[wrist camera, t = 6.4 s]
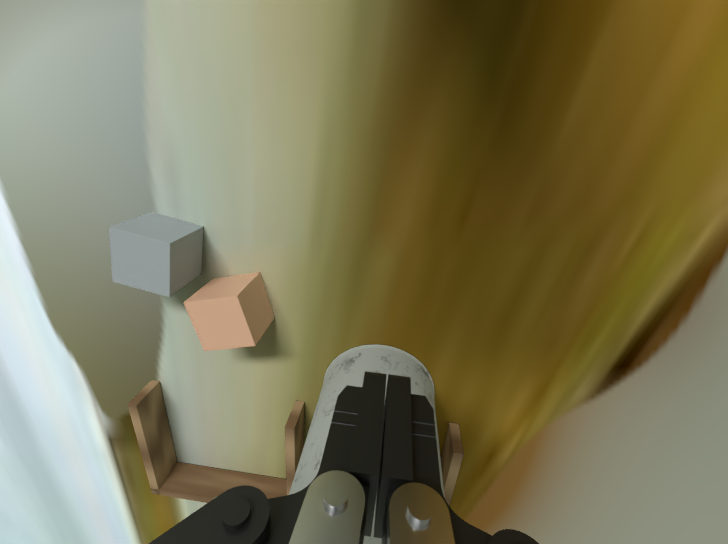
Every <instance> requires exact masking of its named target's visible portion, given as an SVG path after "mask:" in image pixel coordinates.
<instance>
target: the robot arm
mask: <svg viewBox="0 0 728 544" xmlns="http://www.w3.org/2000/svg"><path fill="white" fill-rule="evenodd" d="M386 375H387V374H383V373H375V372H368V371H365V374H364V380H363V386H362V387H356V386H349V385H347V386H346V387H345V388H344V389H343V390H342V392H341V393H340V394H339V395H338V397H337V401H336V405H335V409H334V413H333V417H332V421H331V425H330V429H329V433H328V437H327V441H326V444H325V448H324V452H323V456H322V460H321V464H320V468H319V471H318V473H317V475H316V477H315V478H314V480H313V481H312V482H311V483H310V484H309V485H308V486H307V487H305V488H304V489H302V490H301V491H299V492H296V493H294V494H290V495H286V496H280V497H275V498H270V499H267V497H266V495H265V494H264V493H263V492H262V491H261V490H260V489H258V488H256V487H254V486H249V485H242V486H237V487H233V488H231V489H228V490H227V491H225V492H223V493H222V494H220V495H219V496H217V497H216V498H214V499H213V500H211V501H210V502H209V503H207V504H206V505H204V506H203V507H201V508H200V509H198V510H197V511H196V512H194V513H193V514H191V515H190V516H188V517H187V518H185V519H184V520H182V521H181V522H180V523H178V524H177V525H175V526H174V527H172V528H171V529H169V530H168V531H167V532H165V533H164V534H162V535H161V536H159V537H158V538H156V539H155V540H153V541H152V542H151V543H149V544H363V541H364V536H369V537H371V532H372V525H373V517H374V510H375V502H376V511H375V523H374V536H373V537H376V538H382V542H381V544H539V543H538V542H536V541H535V540H534V539H533V538H531V537H530V536H528V535H526V534H524V533H522V532H520V531H516V530H511V529H506V530H501V531H498V532H497V533H495V534H494V535H493V536H491V535H490V534H487V533H486V532H484V531H482V530H480V529H478V528H476V527H474V526H472V525H470V524H468V523H467V522H465V521H464V520H462V519H461V518H460V517H458V516H457V515H456V514H455V513H454V512H453V510H452V509H451V508H450V507H449V505H448V503H447V502H446V500H445V498H444V495H443V492H442V488H441V480H440V470H439V460H438V450H437V440H436V431H435V421H434V411H433V408H432V406H431V404H430V403H429V401H428V399H427V398H426V396H423V395H416V394H411V378H410V377H406V376H398V375H391V374H388V380H387V388H386ZM385 389H386V396H385ZM384 403H385V404H384ZM376 495H377V498H376Z"/></svg>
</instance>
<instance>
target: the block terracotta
mask: <svg viewBox="0 0 728 544" xmlns="http://www.w3.org/2000/svg"><path fill="white" fill-rule="evenodd" d="M183 303H184V305H185V308H186V310H187V312H188V314H189V317H190V319H191V321H192V324H193V326H194V328H195V330H196V333H197V335H198V337H199V340H200V342H201V344H202V346H203V349H204V351H208V350H219V349H229V348H240V347H250V346H256V344H257V343H258V341H259V340H260V338H261V337H262V335H263V334H264V332H265V331H266V329H267V328H268V326H269V325H270V323H271V322H272V320H273V319H274V318H275V316H274V313H273V310H272V307H271V304H270V301H269V298H268V295H267V292H266V289H265V286H264V283H263V280H262V276H261V273H260V272H257V273H250V274H242V275H235V276H228V277H220V278H213V279H212V280H210V281H209V282H208V283H207V284H206V285H204V286H203V287H202V288H201V289H199V290H198V291H197V292H196V293H194V294H193V295H192V296H191V297H189V298H188V299H187V300H186V301H185V302H183Z"/></svg>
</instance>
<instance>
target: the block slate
mask: <svg viewBox="0 0 728 544" xmlns="http://www.w3.org/2000/svg"><path fill="white" fill-rule="evenodd" d="M203 229H204V226H200V225H197V224H193V223H189V222H186V221H182V220H178V219H175V218H171V217H168V216H164V215H160V214H157V213H155V212H150V213H147V214H144V215H141V216H139V217H135V218H132V219H129V220H127V221H124V222H121V223H118V224H115V225H112V226H109V235H110V249H111V264H112V278H113V282H116V283H120V284H123V285H127V286H131V287H134V288H138V289H142V290H145V291H149V292H152V293H156V294H159V295H163V296H167V297H171V296H172V295H173V294H175V293H176V292H177V291H179V290H180V289H182V288H183V287H184V286H186V285H187V284H188V283H190V282H191V281H192V280H194V279H195V278H197V277H198V276H199V275H201V268H202V249H203Z"/></svg>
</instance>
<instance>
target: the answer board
mask: <svg viewBox="0 0 728 544" xmlns="http://www.w3.org/2000/svg"><path fill="white" fill-rule="evenodd" d="M128 408H129V412H130V415H131V419H132V422H133V426H134V430H135V433H136V437H137V440H138V444H139V448H140V451H141V455H142V458H143V462H144V465H145V469H146V473H147V476H148V480H149V483H150V487H151V491H152V494H158V495H164V496H170V497H176V498H182V499H188V500H194V501H200V502H206V503H209V502H210V501H211V500H213V499H214V498H216V497H217V496H219V495H220V494H222V493H223V492H225V491H227V490H228V489H231V488H233V487H237V486H242V485H249V486H254V487H256V488H258V489H260V490H261V491H262V492H263V493H264V494H265V495H266V497H267V499H270V498H275V497H280V496H286V495H289V492H290V489H291V486H292V483H293V480H294V476H295V473H296V470H297V467H298V464H299V460H300V457H301V454H302V451H303V448H304V402H301V401H295V403H294V406H293V408H292V411H291V413H290V416H289V418H288V421H287V423H286V426H285V450H286V479H281V478H275V477H269V476H263V475H256V474H250V473H244V472H237V471H231V470H225V469H219V468H212V467H206V466H200V465H193V464H187V463H181V462H177V459H176V454H175V450H174V445H173V441H172V436H171V432H170V427H169V422H168V418H167V413H166V409H165V404H164V400H163V395H162V391H161V386H160V382H159V381H153V380H151V381H150V382H149V383H148V384H147V385H146V386H145V387H144V388H143V389H142V390H141V392H139V393H138V394H137V395H136V396H135V398H133V399H132V400H131V401H130V402H129V403H128ZM463 455H464V452H463V447H462V441H461V436H460V430H459V424H456V423H449V425H448V430H447V434H446V438H445V442H444V446H443V450H442V455H441V468H442V477H443V487H444V496H445V500H446V502H447V503H448V505H449V506H450V502H451V498H452V495H453V491H454V488H455V484H456V480H457V477H458V473H459V470H460V466H461V462H462V459H463Z"/></svg>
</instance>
